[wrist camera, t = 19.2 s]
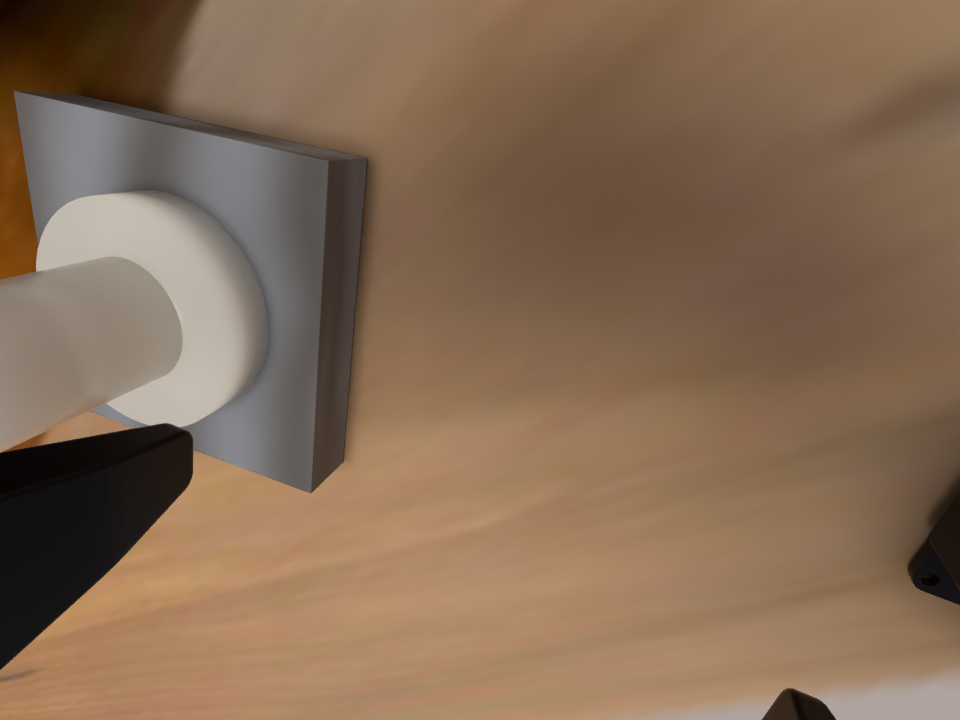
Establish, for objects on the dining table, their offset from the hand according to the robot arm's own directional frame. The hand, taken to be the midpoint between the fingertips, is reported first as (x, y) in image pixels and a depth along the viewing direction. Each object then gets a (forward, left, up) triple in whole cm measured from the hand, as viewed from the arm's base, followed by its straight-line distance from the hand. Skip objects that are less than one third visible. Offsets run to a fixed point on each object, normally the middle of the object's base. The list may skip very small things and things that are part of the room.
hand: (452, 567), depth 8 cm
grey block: (+15, +4, -13) cm, 20 cm away
